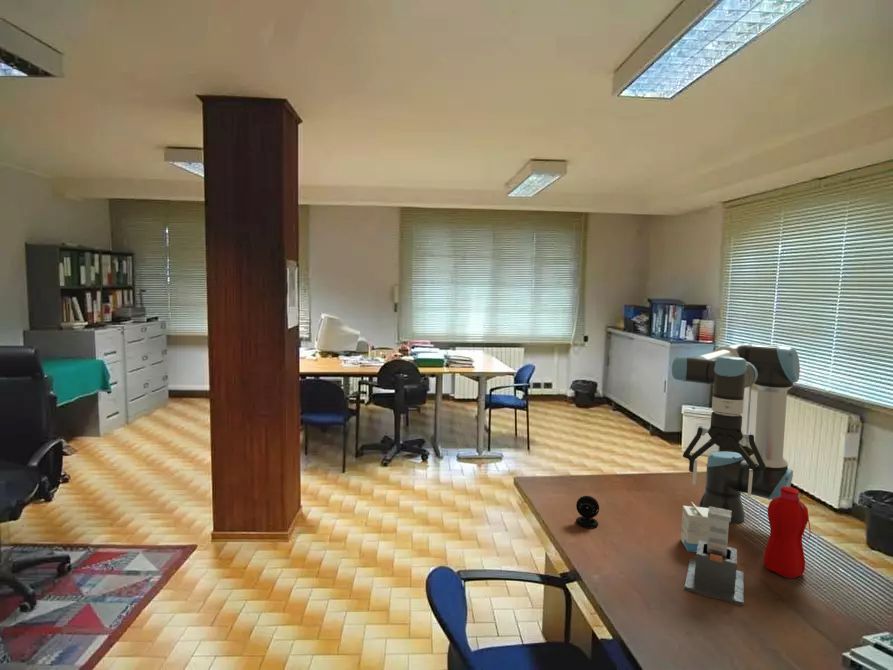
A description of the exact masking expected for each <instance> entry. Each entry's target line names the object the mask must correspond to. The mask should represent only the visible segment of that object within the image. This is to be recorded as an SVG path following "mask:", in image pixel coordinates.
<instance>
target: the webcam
mask: <svg viewBox="0 0 893 670" xmlns="http://www.w3.org/2000/svg"><path fill="white" fill-rule="evenodd" d="M575 507H576V511H577V512H578V514H579V515H580V516H579V517H576V519H575V523H576V525H578V526H579V527H581V528H584V529H595V528H597V527H598V526H599V522H598V520H597V519H595V517H596V516H598V514H599V512H600V505H599V502H598V501H597V499H596V498H594V497H592V496H591V495H582V496H581V497H579V498H578V499H577V501H576V505H575Z"/></svg>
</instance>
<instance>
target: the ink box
mask: <svg viewBox="0 0 893 670" xmlns="http://www.w3.org/2000/svg"><path fill="white" fill-rule="evenodd" d="M691 504H692V505H693V506H690V505H682V515H681V516H682V517H681V528H680V529H681V531H680V532H681V533H680V540H681V542H682V544H683V546H684V548H685V549H686V551H687V552H694V553H696V552H697V547H698V542H699V540H701V541H705V542H708V530H709V517H708V510H709V508H703V507H699V506H697V505H696V504H695V503H694V502H693V501H691Z"/></svg>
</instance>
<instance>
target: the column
mask: <svg viewBox="0 0 893 670" xmlns="http://www.w3.org/2000/svg"><path fill="white" fill-rule="evenodd" d="M708 517H709V530H708V544H707V554H708V555H710V554H714V555H718V556H722V557H723V558H725V559H726V556H727V547H728V544H729V543H728V540H729V526H730V523H729V522H731V510H726V509H721V508H716V507H711V506H709V510H708Z"/></svg>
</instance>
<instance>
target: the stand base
mask: <svg viewBox="0 0 893 670" xmlns="http://www.w3.org/2000/svg"><path fill="white" fill-rule="evenodd" d="M707 544H708V542H705V541H701V540H699V542H698V547H697V552H695V559H694V558H689V561H688V562H689V563H688V567H687V573H686V578H685V583H684V589H683V590H684V591H687V592H691V593H693V594H697V595H701V596H705V597H709V598H712V599H715V600H720V601H723V602H727V603H730V604H733V605H738V606H741V607H744V602H745V601H744V593H745V592H744V571H741V570H737V566H738V559H737V558H738V549H737V548H735V547H730V546H727V556H726V559H725V558H723V557H722V556H718V555H714V554H710V555H708V554H707Z"/></svg>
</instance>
